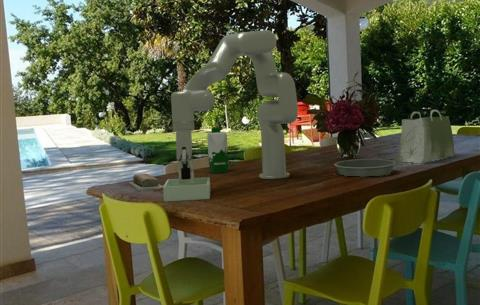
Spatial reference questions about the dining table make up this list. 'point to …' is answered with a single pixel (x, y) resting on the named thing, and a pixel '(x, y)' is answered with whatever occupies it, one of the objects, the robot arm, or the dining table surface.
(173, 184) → the sage bin
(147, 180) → the packaged product
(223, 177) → the dining table surface
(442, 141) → the grocery bag
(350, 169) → the cake pan
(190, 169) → the cream block
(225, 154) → the milk carton
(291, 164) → the dining table surface
